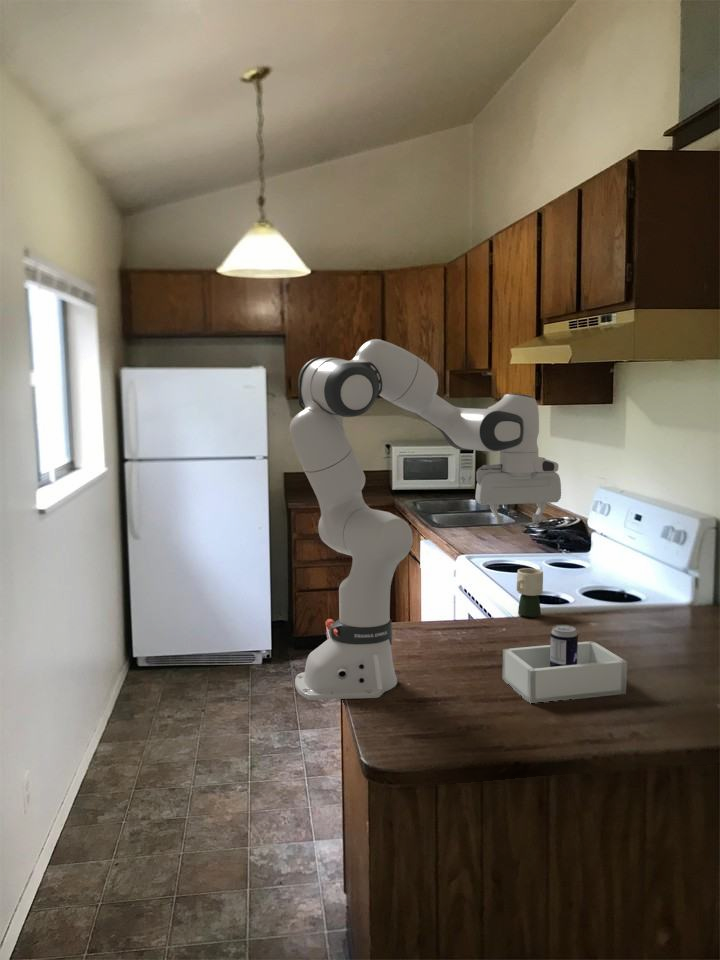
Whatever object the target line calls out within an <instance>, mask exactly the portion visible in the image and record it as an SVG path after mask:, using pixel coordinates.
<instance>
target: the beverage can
mask: <svg viewBox="0 0 720 960" xmlns="http://www.w3.org/2000/svg"><path fill="white" fill-rule="evenodd" d="M578 642H579V634H578V632H577V628H576V627H574V626H572V625H568V624H557V625H556V624H555V625H554V626H552V629H551V632H550V644H549V645H550V667H556V666H566V665H576V664H577V651H578Z"/></svg>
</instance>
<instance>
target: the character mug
mask: <svg viewBox="0 0 720 960" xmlns="http://www.w3.org/2000/svg"><path fill="white" fill-rule="evenodd" d="M543 585H544V571H543V570H542V569H538V568H530V567H528V568H527V567H526V568H525V567H523V568H519V569H517V575H516V592H517V593H519V594H521V595H520V598H519V603H518V610H517V614H518V615H519V616H524V617H525V618H527V617H533V618H534V617H540V616H541V615H542V613H541V604H540V603H541V602H540V597H539V596H540V595H542V594H543V589H544V586H543Z"/></svg>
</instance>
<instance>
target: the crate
mask: <svg viewBox="0 0 720 960" xmlns="http://www.w3.org/2000/svg"><path fill="white" fill-rule="evenodd" d="M627 673H628V661H626V659H624V658H621V657H620V656H618V655H617V654H615V653H614V652H611V651H610V650H609V649H607V648H605V647H604V646H602V645H601V644H599V643H597V642H595V641H592V640H591V641H582V642H581V641H578V651H577V664H576V665H566V666H556V667H550V644H546V645H545V644H544V645H536V646H534V645H533V646H525V647H524V646H522V647H513V648H511V647H510V648H503V649H502V673H501V674H502V679H503V680H504V681H503V680H502V679H501V680H502V681H503V682H504V683H505V684H507V685H508V684H509V685H510V686H511V687H512V688H513V689H512V688H511V687H510V686H509V685H508V686H509V687H510V688H511V689H512V690H513V691H515V693H517V694H518V695H519V696H520V695H521V696H522V697H521V696H520V697H521V698H522V699H523V700H525V701H526V702H527V703H528V702H529V703H530V704H529V703H528V704H529V705H532V704H531V703H535V704H538V703H537V702H544V703H550V702H549V701H554V702H559V701H558V700H563V701H570V700H569V699H572V700H580V699H589V698H590V699H591V698H598V697H607V696H617V695H619V696H620V695H626V694H627V678H628V677H627V675H628V674H627Z"/></svg>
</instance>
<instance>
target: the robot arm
mask: <svg viewBox="0 0 720 960" xmlns="http://www.w3.org/2000/svg"><path fill="white" fill-rule="evenodd" d="M297 380H298V381H297V382H298V383H297V385H298V386H297V387H298V405H299V406H300V408H301V409H302V410H301V411H300V412H298V413H297V414H295V416H294V417H293V418H292V420H291V421H290V424H289V435H290V438H291V442H292V444H293V448H294V452H295V454H296V456H297V459H298V461H299V463H300V465H301V467H302V469H303V471H304V474H305V475H306V477H307V479H308V482H309V483H310V484H309V485H310V486H311V488H312V489H313V492H314V494H315V496H316V499H317V502H318V505H319V510H320V518H319V520H318V527H317V528H318V530H317V531H318V535H319V537H320V540H321V541H322V543H324V544H325V545H327V546H328V547H329V548H330V549H332V550H334V551H335V552H337V553H340V554H343V555H347V556H351V557H352V562H351V563H352V564H351V569H350V572H349V574H348V576H347V577H346V578H345V579H343V580H342V581H341V583H340V585H339V587H338V602H339V603H338V606H339V607H338V608H339V610H338V611H339V612H338V614H339V617H338V619H337V620H336V621H334V620H333V619H332V618H328V619H326V621H325V627H326V628H327V630H329V631H330V633H329V634H330V637H329V638H328V639H326V640H325V641H324V642H322V644H320V645H319V646H318V647H316V648H315V649H314V650H312V651H311V652H310V653H309V654H308V656H307V658H306V661H305V667H304V671H303V672H299V673H298V674H297V675H296V676H295V679H294V687H295V690H296V692H298V694H299V695H301V696H302V697H303V698H305V699H308V700H337V699H338V700H339V699H340V700H342V699H343V700H344V699H345V700H346V699H347V700H348V699H351V700H352V699H378V698H380V697H382V696H383V694H384V693H385V692H387V691H389V690H392V689H394V688H395V687H396V686H397V684H398V678H397V676H396V672H395V667H394V661H393V654H392V646H391V645H392V643H393V624H392V619H391V618H390V614H391V613H390V612H391V611H390V609H391V607H390V606H391V604H390V603H391V585H392V582H393V577H394V573H395V572H396V569H397V566H398V565H399V564H400V562H402V561H403V560H404V559H405V558H406V557H407V556H408V555H409V553H410V551H411V549H412V547H413V540H414V539H413V532H412V531H413V530H412V528H411V526H410V525H409V523H408V522H407V521H406V520H405V519H403V518H401V517H400V516H397V515H395V514H393V513H392V512H389V511H384V510H380V509H373V508H371V507H369V505H367V504H366V502H365V500H364V498H363V497H364V496H363V493H362V490H363V489H364V487H365V484H366V475H365V473H364V471H363V468H362V466H361V464H360V461H359V460H358V458H357V455H356V454H355V451H354V449H353V447H352V445H351V443H350V441H349V439H348V437H347V435H346V433H345V428H344V417H345V418H353V417H358V416H361V415H362V414H364V413H366V412H367V411H369V409H371V407H372V406H373V405H374V403H375V401H376V399H377V397H379V396H380V397H381V398H383V399H384V400H385V401H388V402H389V403H391V404H393V405H395V406H397V407H399V408H401V409H403V410H406V411H409V412H411V413H413V414H415V415H417V417H419V418H421V419H422V420H423V421H426V422H427V423H428V424H430V425H431V426H433V427H435V428H436V429H437V430H438V431H439V432H440V433H441V434H442V435H443V437H444V439H445V440H446V441H447V442H448V443H449V445H450V446H451V447H453V448H454V449H456V450H459V451H460V450H461V451H465V450H466V451H470V450H471V451H472V450H473V451H481V452H489V453H490V452H492V453H495V452H499V464H483V465H481V466H480V467H479V468H477V470H476V474H475V475H476V476H475V478H476V482H477V483H476V488H475V496H474V497H475V501H476V502H477V504H479V505H482V506H489V509H490V510H491V511H490V512H491V513H492V515H494V523H495V524H496V525H499V524H500V525H501V524H504V515H501V514H500V513H499V512H498V510H500V506H501V505H522V504H523V505H524V504H536V506H537V507H538V508H537V509H536V512H535V513H532V514H531V516H532V518H531V521H532V522H534V523H541V522H542V515H543V513H544V511H545V510H546V508H547V503H551V504H552V503H558V502H559V501H560V500H561V498H562V483H561V478H560V475H559V474H558V473H557V472H558V471H559V463H558V462H556V461H552V460H549V459H546V458H545V457H542V456H541V457H540V456H539V447H538V437H539V433H540V412H539V407H538V402H537V400H536V398H534V397H533V396H532V395H531V396H530V395H528V394H524V393H523V394H522V393H512V392H511V393H505V394H504V395H503V397H502V398H501V399H500V400H499V401H498V402H497V403H495V404H492V405H491V406H489V407H487V408H472V407H465V406H455V405H453V404H451V403H450V402H448V401H446V400H445V399H444V398H442V397H441V396H439V395H438V394H437V392H438V388H439V377H438V373H437V372H436V371H435V369H434V368H432V366H430V365H429V364H428V363H427V362H426V361H425V360H423V359H422V358H420V357H419V356H417V355H415V354H414V353H412V352H410V351H408V350H406V349H405V348H402V347H400V346H398V345H396V344H394V343H391V342H388V341H385V340H382V339H380V338H379V339H378V338H374V339H373V338H372V339H370V340H367V341H366V342H364V343H363V344H362V345H361V346H360V347H359V348H358V349H357V352H356V354H355V355H354V357H353V358H352V359H351V360H346V359H343V358H338V357H328V356H320V357H315V358H312V359H309V361H307V362H306V363H305V364H304V365H303V366H302V368H301V369H300V372H299V375H298V379H297Z"/></svg>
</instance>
